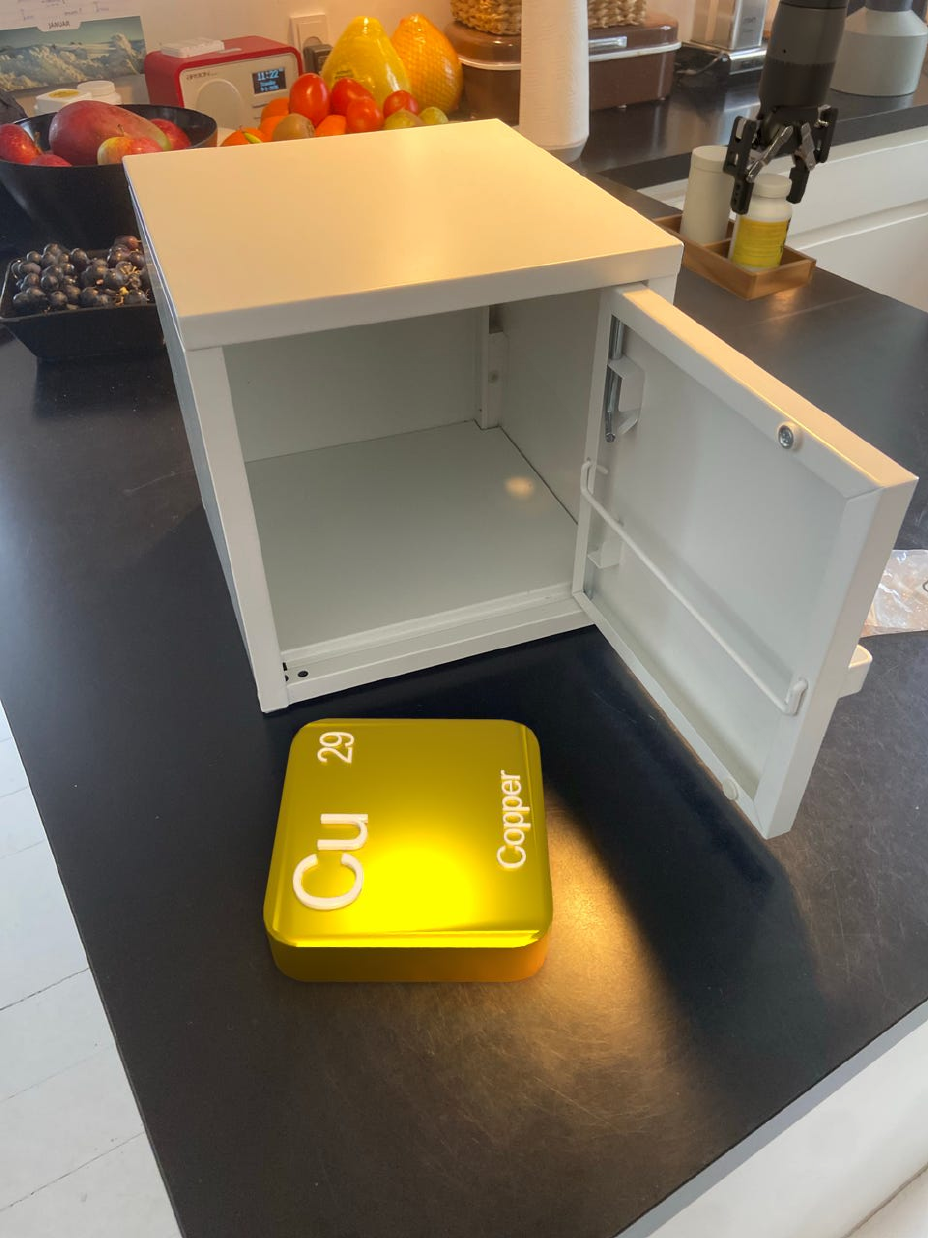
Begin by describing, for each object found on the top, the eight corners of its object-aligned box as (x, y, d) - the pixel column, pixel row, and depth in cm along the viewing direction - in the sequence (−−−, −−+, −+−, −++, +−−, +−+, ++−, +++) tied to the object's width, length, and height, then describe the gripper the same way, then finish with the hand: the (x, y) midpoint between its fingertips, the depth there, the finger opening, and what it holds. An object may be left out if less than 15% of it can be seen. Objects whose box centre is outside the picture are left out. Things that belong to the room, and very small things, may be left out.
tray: (703, 233, 128) (708, 207, 125) (809, 287, 115) (817, 259, 113) (642, 246, 124) (646, 219, 122) (745, 304, 111) (752, 275, 109)
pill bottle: (775, 289, 113) (800, 191, 105) (722, 283, 114) (742, 185, 106) (776, 269, 118) (800, 173, 110) (725, 263, 119) (745, 168, 111)
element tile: (550, 985, 48) (558, 941, 45) (266, 985, 48) (253, 940, 45) (533, 760, 59) (538, 711, 56) (301, 759, 59) (293, 710, 56)
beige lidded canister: (702, 237, 125) (720, 142, 117) (732, 253, 121) (753, 156, 113) (666, 245, 123) (682, 149, 115) (696, 261, 119) (715, 163, 111)
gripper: (777, 66, 94) (742, 227, 105) (874, 53, 99) (831, 207, 111) (728, 51, 99) (699, 206, 110) (824, 39, 104) (787, 189, 115)
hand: (765, 207), depth 110 cm, fingers open, 8 cm apart
